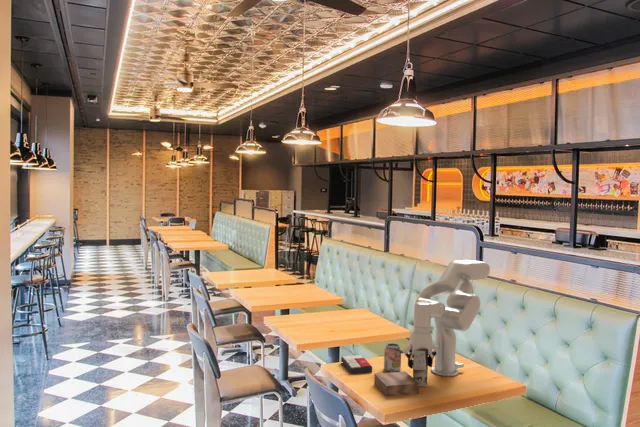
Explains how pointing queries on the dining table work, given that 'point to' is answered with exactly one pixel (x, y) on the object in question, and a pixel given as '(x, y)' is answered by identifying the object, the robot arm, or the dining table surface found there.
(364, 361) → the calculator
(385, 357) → the beverage can
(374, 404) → the dining table surface
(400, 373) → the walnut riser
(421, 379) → the coffee box
